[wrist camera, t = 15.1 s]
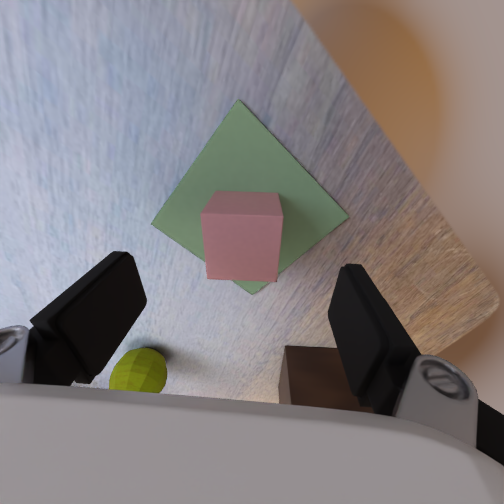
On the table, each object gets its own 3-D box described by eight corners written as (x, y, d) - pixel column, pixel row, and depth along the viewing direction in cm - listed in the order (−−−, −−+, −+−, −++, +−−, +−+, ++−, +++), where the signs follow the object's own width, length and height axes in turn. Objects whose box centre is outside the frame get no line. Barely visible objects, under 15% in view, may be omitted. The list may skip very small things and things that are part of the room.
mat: (348, 215, 18) (349, 216, 18) (252, 293, 23) (252, 295, 23) (238, 98, 14) (238, 98, 14) (152, 222, 19) (150, 224, 19)
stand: (364, 349, 27) (427, 488, 17) (344, 390, 32) (383, 515, 22) (285, 345, 27) (298, 480, 17) (278, 386, 32) (285, 509, 22)
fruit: (169, 339, 28) (115, 468, 17) (176, 367, 31) (134, 490, 20) (120, 336, 28) (37, 463, 17) (132, 364, 31) (68, 485, 21)
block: (278, 192, 17) (284, 216, 13) (273, 247, 19) (276, 282, 15) (215, 190, 17) (199, 213, 13) (219, 245, 20) (207, 279, 15)
